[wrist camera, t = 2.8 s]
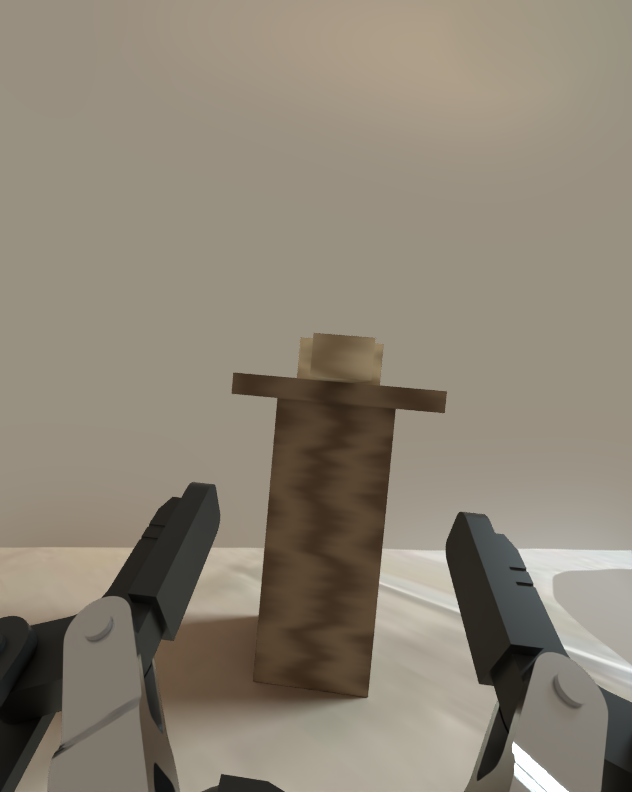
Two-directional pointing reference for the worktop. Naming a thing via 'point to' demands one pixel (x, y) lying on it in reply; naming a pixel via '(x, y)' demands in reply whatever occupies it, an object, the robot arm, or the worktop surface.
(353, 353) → the beige stepped hammer block
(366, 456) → the wooden t-shaped post
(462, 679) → the worktop surface
